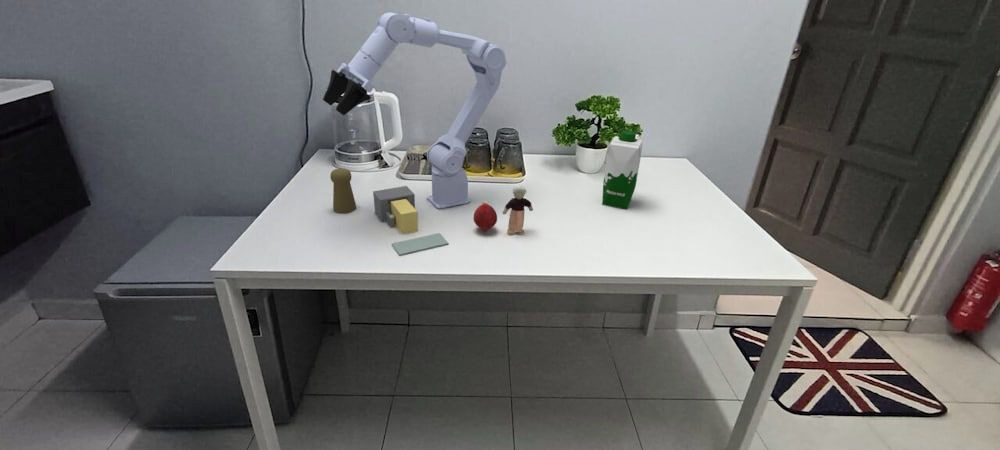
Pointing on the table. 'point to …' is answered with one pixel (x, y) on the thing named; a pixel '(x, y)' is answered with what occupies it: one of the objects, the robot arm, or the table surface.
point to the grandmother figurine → (517, 210)
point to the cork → (342, 191)
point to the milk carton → (621, 170)
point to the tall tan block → (404, 216)
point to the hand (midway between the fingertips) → (332, 107)
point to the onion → (485, 216)
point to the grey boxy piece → (384, 202)
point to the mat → (419, 244)
